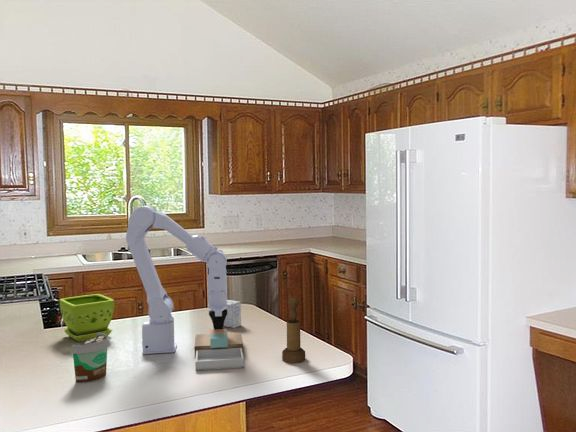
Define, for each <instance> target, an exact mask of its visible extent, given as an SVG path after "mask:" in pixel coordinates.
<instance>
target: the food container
mask: <svg viewBox="0 0 576 432" xmlns="http://www.w3.org/2000/svg"><path fill="white" fill-rule="evenodd" d="M110 345H111V342H110V338H109V335H108V336H107V335H106V334H104V333H97V336H96V337H95V338H92V339H89V340H86V341H82V342H81V343H80V344H71V352H70V354H72V357H73V367H74V378H75V383H78V384H79V383H89V382H95V381H98V380H101V379H103V378H104V377H106V375H107V366H108V365H107V363H108V362H107V361H108V347H109V346H110Z"/></svg>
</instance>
